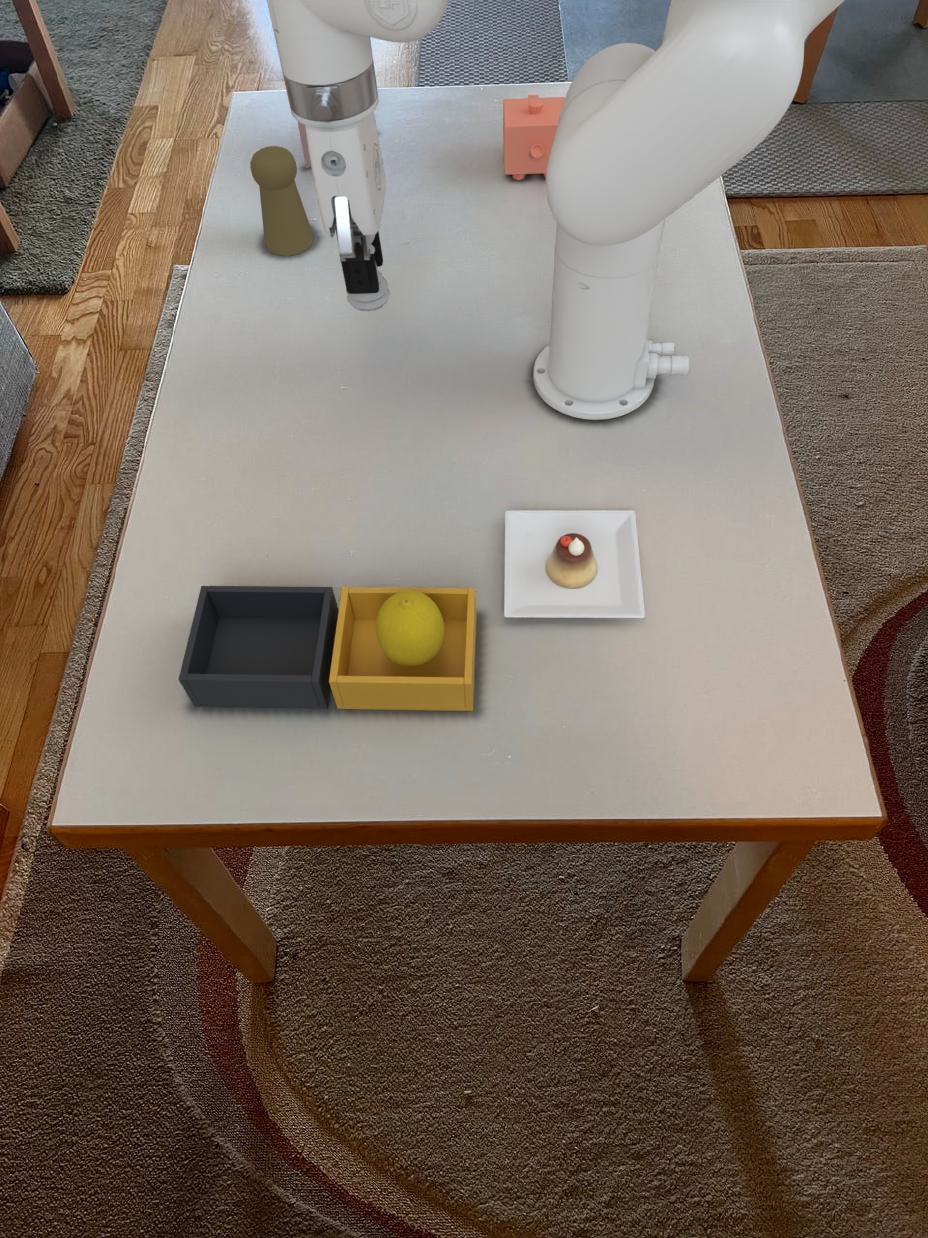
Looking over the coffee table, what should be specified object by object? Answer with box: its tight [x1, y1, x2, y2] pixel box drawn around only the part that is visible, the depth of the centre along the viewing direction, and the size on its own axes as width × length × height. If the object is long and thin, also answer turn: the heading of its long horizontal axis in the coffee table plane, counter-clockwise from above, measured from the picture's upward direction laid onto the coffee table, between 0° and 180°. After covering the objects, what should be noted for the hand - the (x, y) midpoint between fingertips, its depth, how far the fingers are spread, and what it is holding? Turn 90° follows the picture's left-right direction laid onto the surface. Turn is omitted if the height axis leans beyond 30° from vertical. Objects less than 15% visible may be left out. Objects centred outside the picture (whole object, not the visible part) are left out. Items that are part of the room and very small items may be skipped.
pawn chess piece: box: [249, 145, 315, 257], centre depth 107 cm, size 6×6×11 cm
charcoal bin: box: [178, 585, 339, 710], centre depth 76 cm, size 11×9×4 cm
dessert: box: [503, 509, 646, 619], centre depth 80 cm, size 12×12×5 cm
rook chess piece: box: [345, 223, 391, 312], centre depth 90 cm, size 4×4×8 cm
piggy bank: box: [502, 94, 566, 181], centre depth 115 cm, size 8×12×8 cm, turn 0°
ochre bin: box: [329, 586, 477, 712], centre depth 75 cm, size 11×9×4 cm
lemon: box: [376, 590, 445, 667], centre depth 74 cm, size 6×6×8 cm
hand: (365, 276), depth 91 cm, fingers closed on rook chess piece, 3 cm apart
